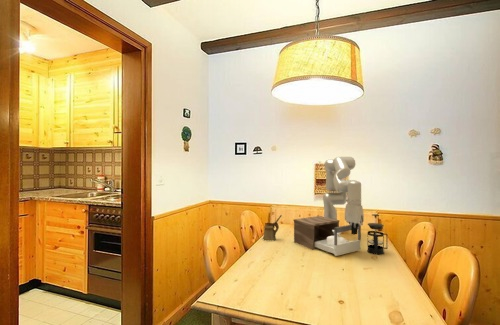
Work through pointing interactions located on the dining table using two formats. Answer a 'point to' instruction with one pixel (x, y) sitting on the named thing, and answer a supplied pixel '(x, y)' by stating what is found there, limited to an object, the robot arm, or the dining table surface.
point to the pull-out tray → (343, 247)
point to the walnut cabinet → (313, 230)
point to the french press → (376, 238)
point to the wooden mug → (270, 230)
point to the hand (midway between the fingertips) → (354, 233)
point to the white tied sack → (331, 240)
